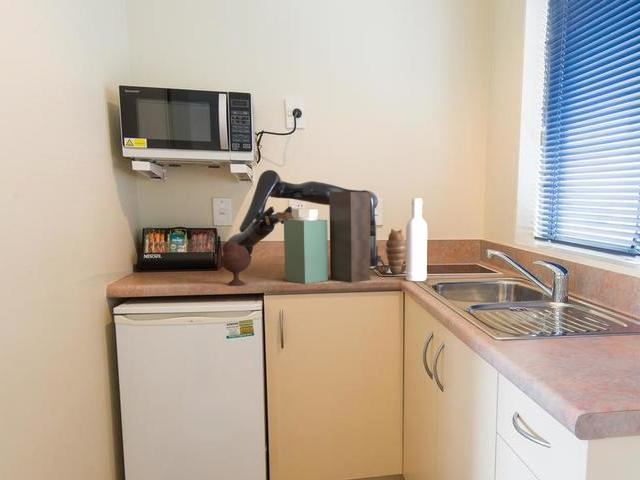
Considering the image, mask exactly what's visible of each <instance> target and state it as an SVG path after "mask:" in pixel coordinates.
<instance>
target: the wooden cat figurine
mask: <svg viewBox="0 0 640 480" xmlns="http://www.w3.org/2000/svg"><path fill="white" fill-rule="evenodd" d="M385 245H386V246H385V247H386V249H385V252H386V258H387V265H389V266H388V267H389V272H390V273H391V274H393V275H397V274H399V273H401V271H402V266H403V265H404V264H403V262H404V260H405V258H406V238H405V237H404V235H403V230H402V229H399V230H395V229H394V228H391V229H390V233H389V234H388V240H387V241H386V243H385Z"/></svg>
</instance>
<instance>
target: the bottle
mask: <svg viewBox="0 0 640 480" xmlns="http://www.w3.org/2000/svg"><path fill="white" fill-rule="evenodd" d="M405 241H406V252H405V261H406V263H405V270H404V271H405V273H404V274H405V275H404V276H405V280H406V281H407V282H408V281H409V282H424V281H426V280H427V276H428V275H427V273H428V271H427V265H428V264H427V259H428V258H427V257H428V256H427V255H428V224H427V222H426V220H424V219H423V199H422V198H412V199H411V218H410V219H409V220H408V221H407V223H406V227H405Z"/></svg>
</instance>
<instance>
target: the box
mask: <svg viewBox="0 0 640 480" xmlns="http://www.w3.org/2000/svg"><path fill="white" fill-rule="evenodd" d="M328 232H329V231H328V219H318V220H293V219H289V220H284V224H283V247H284V248H283V249H284V250H283V253H284V280H285V281H286V282H294V283H300V284H306V285H307V284H313V283H318V282H324V281H329V247H328V245H329V241H328V238H329V235H328Z"/></svg>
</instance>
